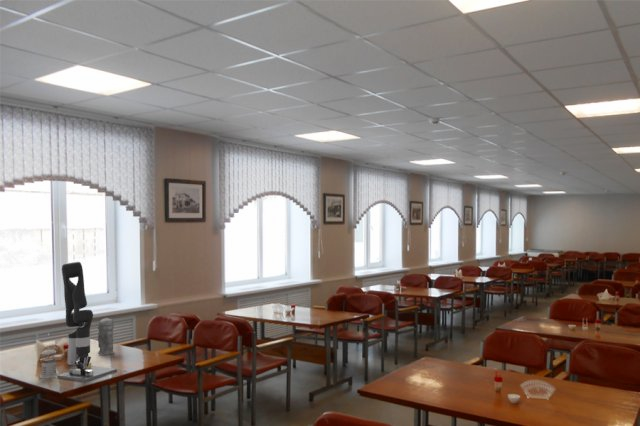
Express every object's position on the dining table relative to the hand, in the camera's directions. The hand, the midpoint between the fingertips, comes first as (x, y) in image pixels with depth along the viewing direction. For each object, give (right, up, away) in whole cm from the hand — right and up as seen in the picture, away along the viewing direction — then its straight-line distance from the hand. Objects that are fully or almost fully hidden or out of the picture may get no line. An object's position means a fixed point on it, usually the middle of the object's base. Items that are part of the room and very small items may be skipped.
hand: (83, 375), depth 289 cm
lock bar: (-4, -1, +5) cm, 6 cm away
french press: (-26, -4, +11) cm, 29 cm away
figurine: (-14, -5, +63) cm, 65 cm away
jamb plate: (-2, -3, +11) cm, 11 cm away
